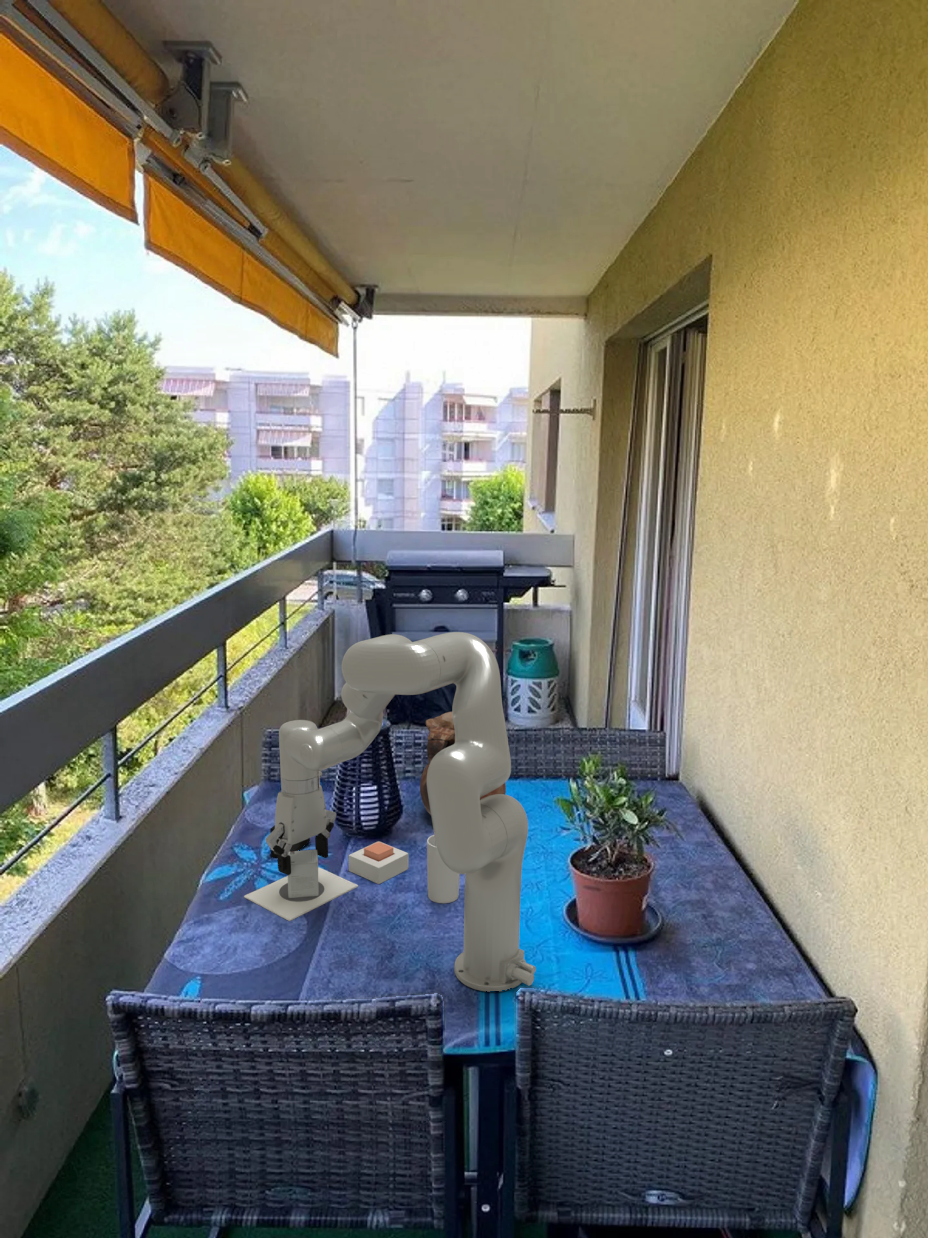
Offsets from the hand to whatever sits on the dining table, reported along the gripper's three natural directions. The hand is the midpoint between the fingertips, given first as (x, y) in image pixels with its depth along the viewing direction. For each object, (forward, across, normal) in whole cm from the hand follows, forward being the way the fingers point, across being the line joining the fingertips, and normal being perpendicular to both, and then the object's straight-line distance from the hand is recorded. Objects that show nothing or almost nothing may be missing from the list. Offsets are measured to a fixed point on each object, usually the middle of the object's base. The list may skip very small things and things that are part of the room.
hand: (303, 864), depth 177 cm
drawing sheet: (+6, 0, -1) cm, 6 cm away
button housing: (+6, -17, +4) cm, 19 cm away
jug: (+6, -50, 0) cm, 50 cm away
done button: (+4, -17, +4) cm, 18 cm away
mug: (+7, -19, +21) cm, 29 cm away
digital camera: (+6, -11, -17) cm, 21 cm away
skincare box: (+6, 0, 0) cm, 6 cm away
